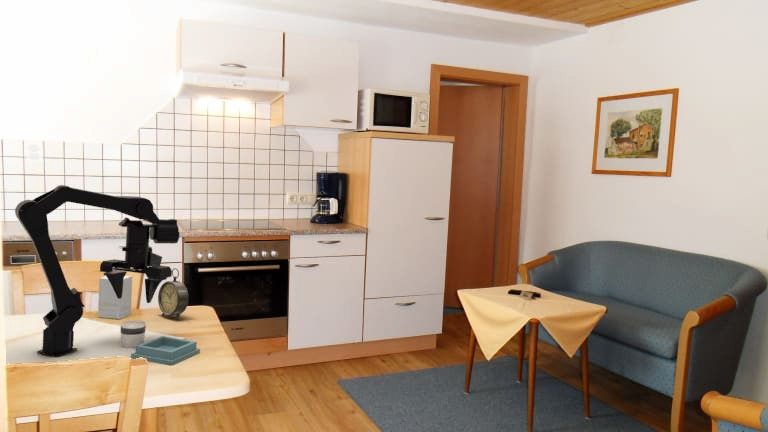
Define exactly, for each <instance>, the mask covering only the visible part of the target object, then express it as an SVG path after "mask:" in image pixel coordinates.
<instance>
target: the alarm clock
mask: <svg viewBox="0 0 768 432" xmlns="http://www.w3.org/2000/svg"><path fill="white" fill-rule="evenodd" d="M171 270H172V278H173V280H169V281H167V280H166V281H165V282H164V283H162V284H161V286H160V288H159V290H158V294H157V302H158V307H159V309H160V310H161V311H160V312H162V314H161V316H164V315H165V316H167V317H170V316H176V319H177V321H180V315H181V314H182V313H184V312H185V310H186V309H187V307H188V306H189V305H188V304H189V297H190V296H189V291H188V288H187V287H186V285H185V284H184V283H183V282H181V281H180V280H177V279H178V278H179V275H180V273H179V272H180V271H179V270H178V268H175V267H174V268H172V269H171ZM175 270H176V271H177V276H174V273H173V272H174V271H175Z"/></svg>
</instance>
